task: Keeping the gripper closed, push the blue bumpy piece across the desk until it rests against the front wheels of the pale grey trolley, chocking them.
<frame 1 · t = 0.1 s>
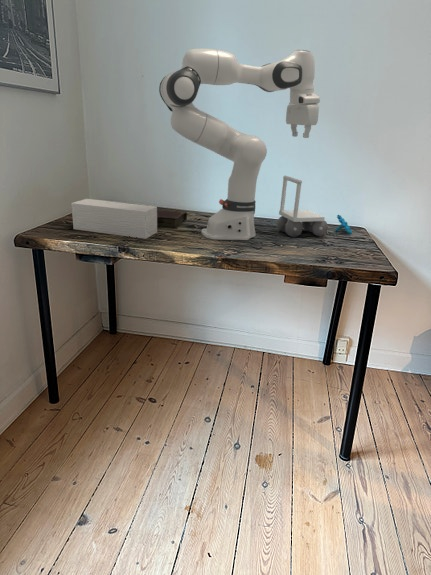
hand: (300, 137, 163), 39 cm above the table, tool pointing down, fingers open, 8 cm apart
blue bumpy piece: (343, 232, 183), on the table
long white foam block: (115, 231, 167), on the table
diary: (154, 223, 184), on the table
trolley: (298, 233, 177), on the table
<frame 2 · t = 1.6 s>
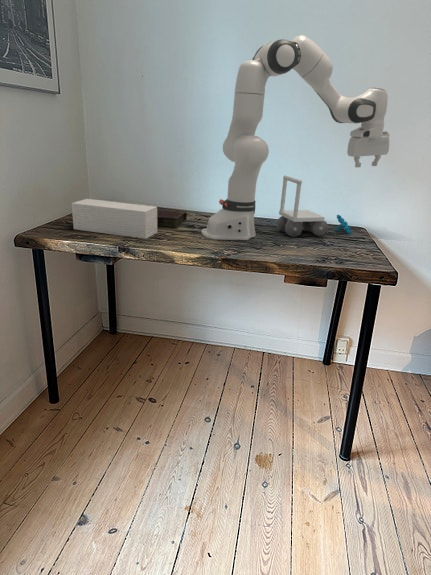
hand: (366, 166, 174), 28 cm above the table, tool pointing down, fingers open, 8 cm apart
nothing on the table moved.
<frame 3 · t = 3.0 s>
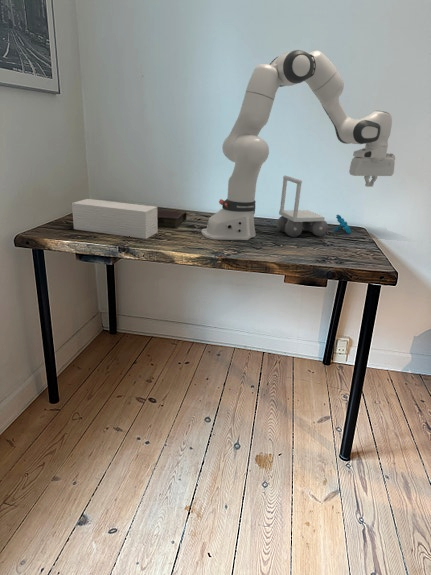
hand: (369, 186, 178), 20 cm above the table, tool pointing down, fingers closed
nothing on the table moved.
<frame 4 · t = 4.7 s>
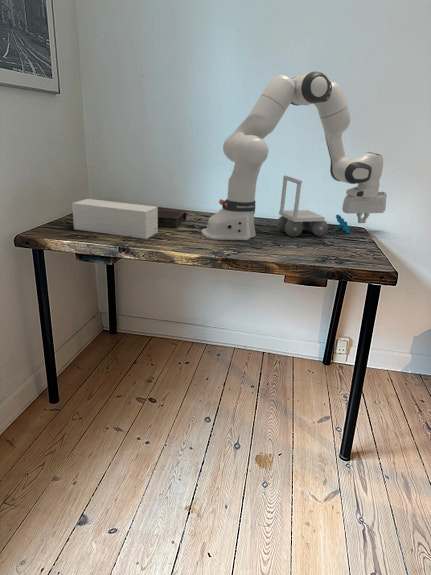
hand: (361, 222, 184), 4 cm above the table, tool pointing down, fingers closed
nothing on the table moved.
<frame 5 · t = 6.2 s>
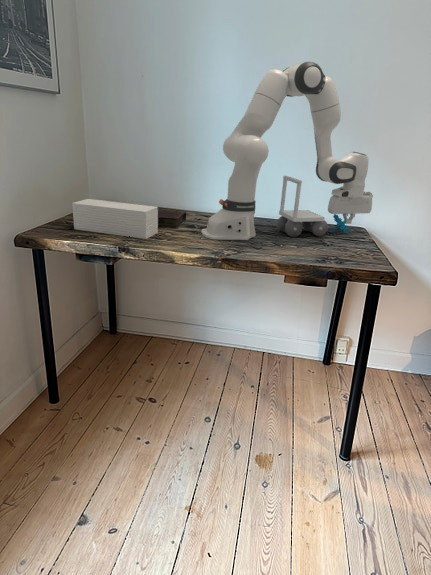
hand: (347, 223, 182), 4 cm above the table, tool pointing down, fingers closed
blue bumpy piece: (339, 232, 183), on the table, touching gripper
everything else where it was.
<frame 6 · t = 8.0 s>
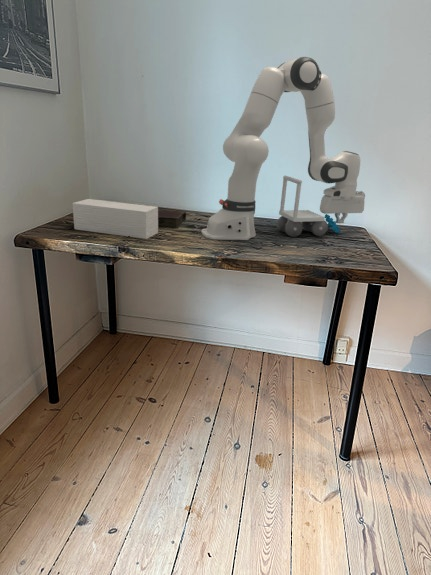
hand: (339, 223, 181), 4 cm above the table, tool pointing down, fingers closed
blue bumpy piece: (330, 232, 183), on the table
everything else where it was.
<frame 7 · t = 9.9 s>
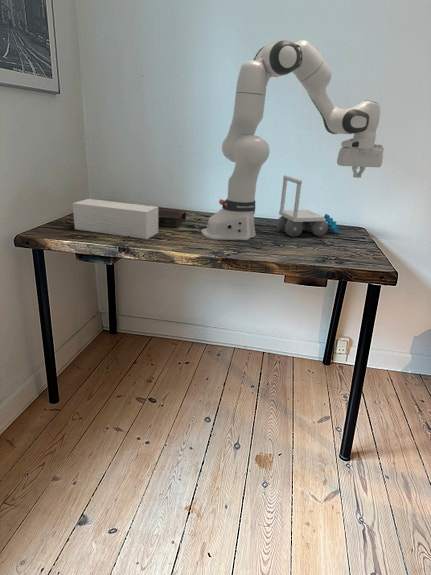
hand: (356, 177, 177), 24 cm above the table, tool pointing down, fingers closed
nothing on the table moved.
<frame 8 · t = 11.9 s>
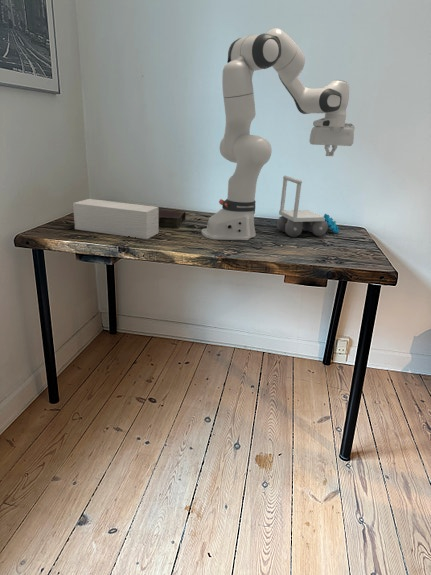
hand: (329, 156, 182), 31 cm above the table, tool pointing down, fingers closed
nothing on the table moved.
at the end: blue bumpy piece 2.5 cm from the target spot, on the table; blue bumpy piece tilted 0° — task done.
